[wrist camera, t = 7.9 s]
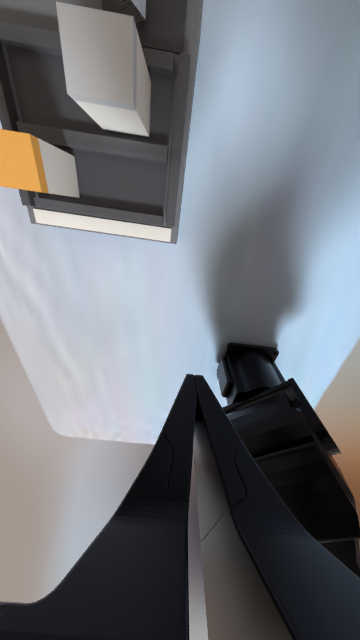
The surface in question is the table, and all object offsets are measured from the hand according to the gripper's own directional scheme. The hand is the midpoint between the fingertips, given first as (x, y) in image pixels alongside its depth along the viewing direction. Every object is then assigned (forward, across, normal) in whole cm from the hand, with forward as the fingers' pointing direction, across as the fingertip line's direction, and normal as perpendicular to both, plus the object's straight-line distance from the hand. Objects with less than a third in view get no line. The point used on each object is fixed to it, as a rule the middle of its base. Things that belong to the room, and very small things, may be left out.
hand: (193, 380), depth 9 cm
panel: (+12, +8, -11) cm, 18 cm away
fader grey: (+10, +6, -13) cm, 17 cm away
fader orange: (+10, +11, -9) cm, 17 cm away
